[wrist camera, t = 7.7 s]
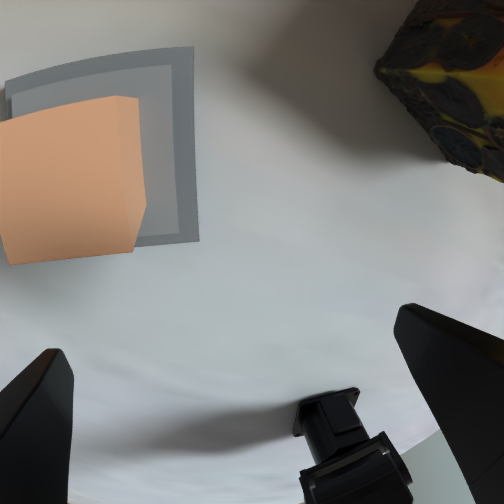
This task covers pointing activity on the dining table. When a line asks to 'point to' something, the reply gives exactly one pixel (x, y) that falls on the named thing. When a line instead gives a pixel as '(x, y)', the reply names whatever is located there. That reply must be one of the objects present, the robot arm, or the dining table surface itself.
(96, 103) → the block
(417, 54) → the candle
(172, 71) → the base
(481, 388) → the robot arm
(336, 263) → the dining table surface
